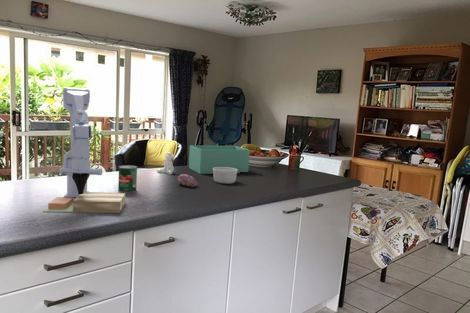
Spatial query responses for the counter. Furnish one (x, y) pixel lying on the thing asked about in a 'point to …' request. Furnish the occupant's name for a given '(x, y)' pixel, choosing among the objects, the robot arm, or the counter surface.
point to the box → (218, 158)
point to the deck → (99, 202)
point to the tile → (60, 203)
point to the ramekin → (224, 174)
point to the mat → (69, 209)
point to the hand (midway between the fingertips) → (80, 193)
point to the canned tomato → (127, 178)
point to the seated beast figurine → (167, 164)
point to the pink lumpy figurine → (189, 179)
